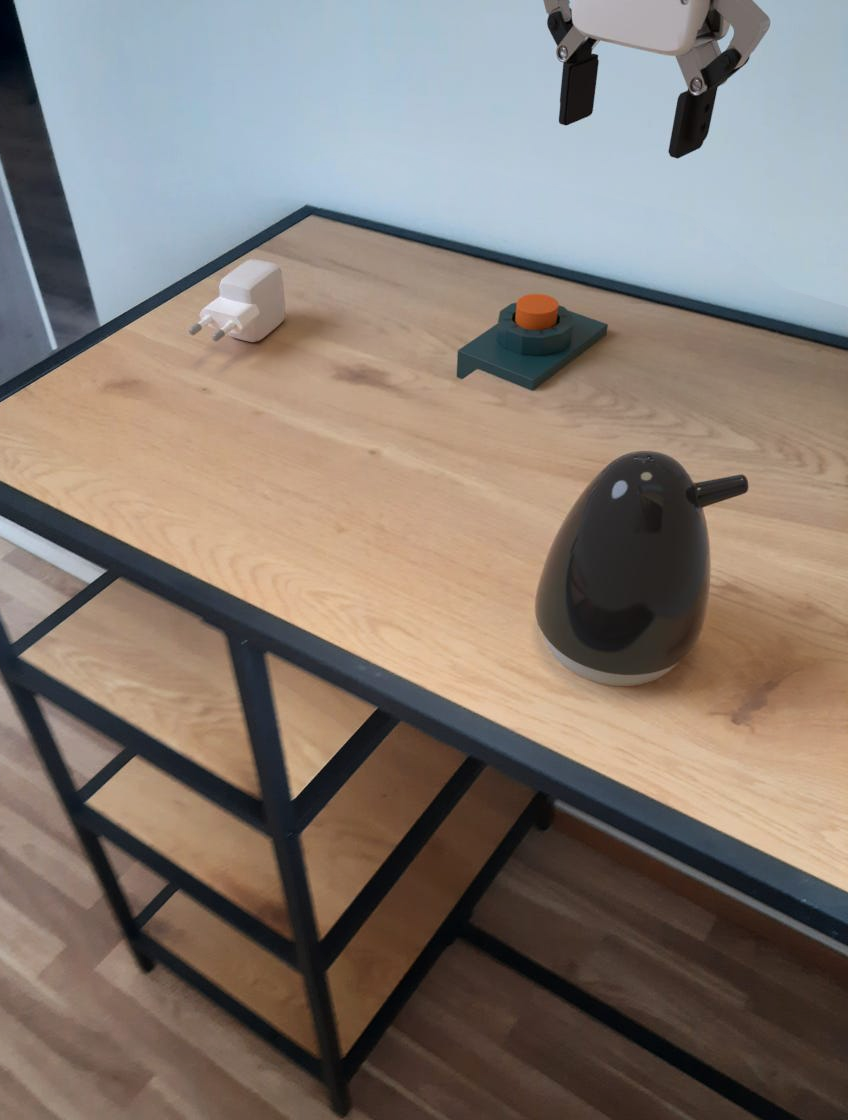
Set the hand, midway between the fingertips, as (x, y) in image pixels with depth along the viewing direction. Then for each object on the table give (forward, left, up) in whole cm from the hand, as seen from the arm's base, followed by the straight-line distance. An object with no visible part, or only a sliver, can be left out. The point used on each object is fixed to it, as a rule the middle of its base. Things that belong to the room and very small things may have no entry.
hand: (628, 135), depth 67 cm
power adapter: (+13, -30, -21) cm, 39 cm away
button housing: (0, -6, -21) cm, 22 cm away
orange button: (0, -6, -17) cm, 18 cm away
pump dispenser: (+26, +18, -21) cm, 38 cm away
